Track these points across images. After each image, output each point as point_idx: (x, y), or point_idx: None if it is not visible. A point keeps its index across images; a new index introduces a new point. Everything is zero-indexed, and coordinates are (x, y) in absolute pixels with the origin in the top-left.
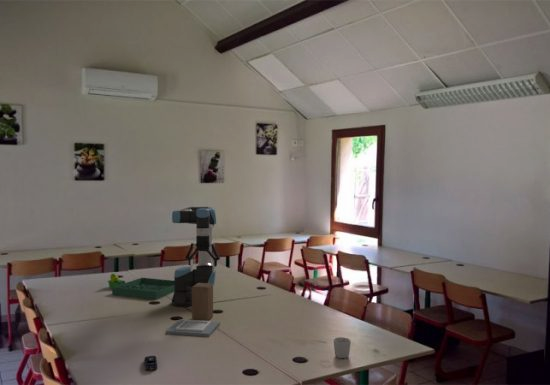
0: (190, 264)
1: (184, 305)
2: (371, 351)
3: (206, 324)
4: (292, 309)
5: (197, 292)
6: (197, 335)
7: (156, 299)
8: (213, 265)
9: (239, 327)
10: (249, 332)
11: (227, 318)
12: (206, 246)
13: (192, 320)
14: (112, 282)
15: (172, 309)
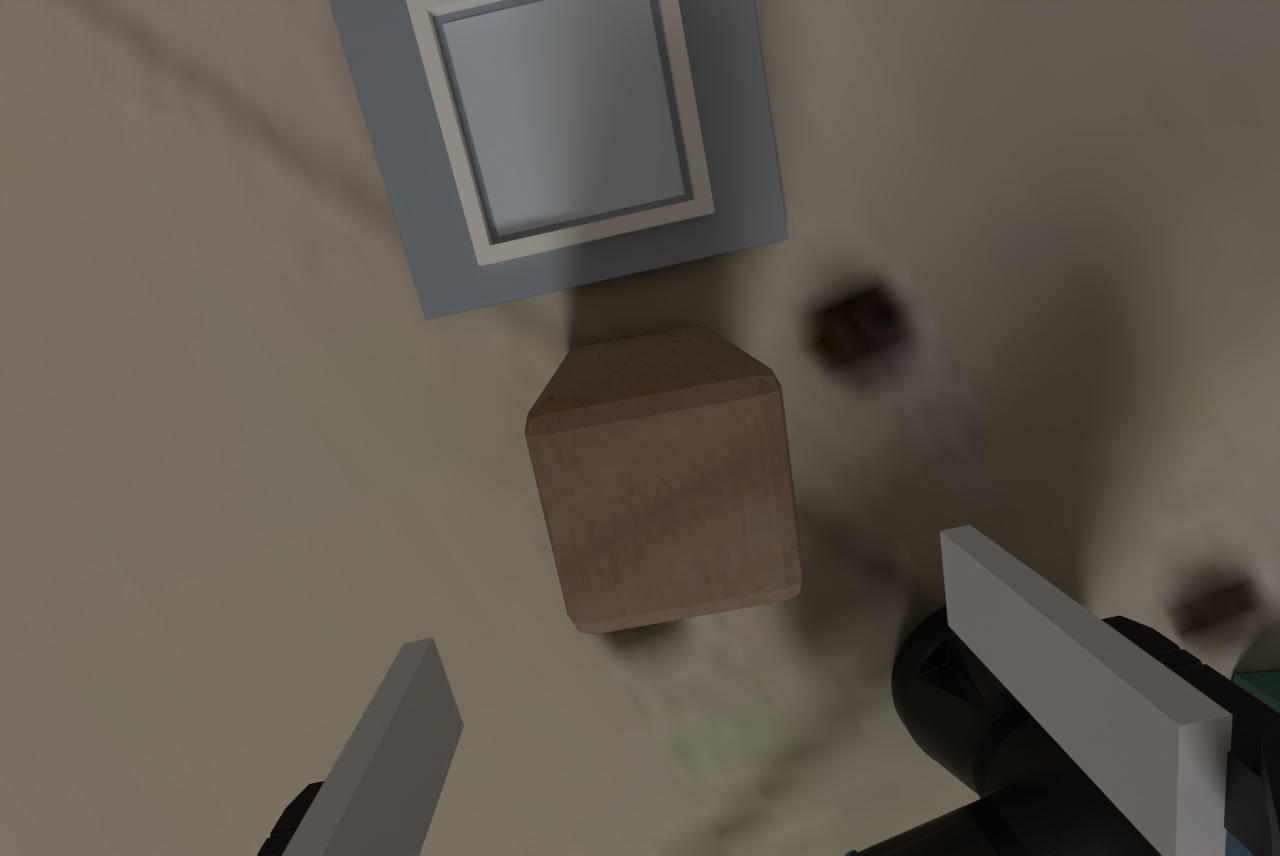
0: (1086, 619)
1: (942, 615)
2: None
3: (461, 161)
4: (151, 851)
5: (678, 368)
6: None
7: (1234, 675)
8: (346, 771)
9: (249, 320)
10: (100, 237)
11: (466, 485)
12: None
13: (640, 214)
14: None
15: (996, 513)
